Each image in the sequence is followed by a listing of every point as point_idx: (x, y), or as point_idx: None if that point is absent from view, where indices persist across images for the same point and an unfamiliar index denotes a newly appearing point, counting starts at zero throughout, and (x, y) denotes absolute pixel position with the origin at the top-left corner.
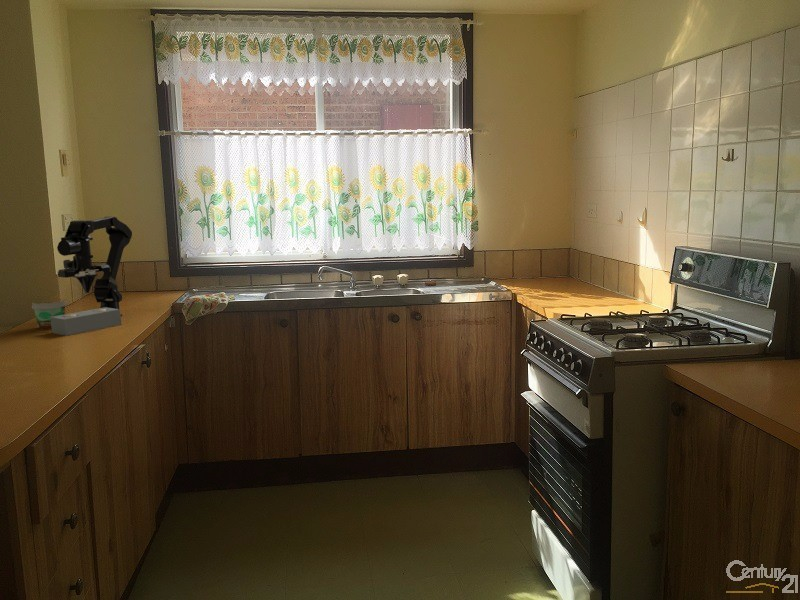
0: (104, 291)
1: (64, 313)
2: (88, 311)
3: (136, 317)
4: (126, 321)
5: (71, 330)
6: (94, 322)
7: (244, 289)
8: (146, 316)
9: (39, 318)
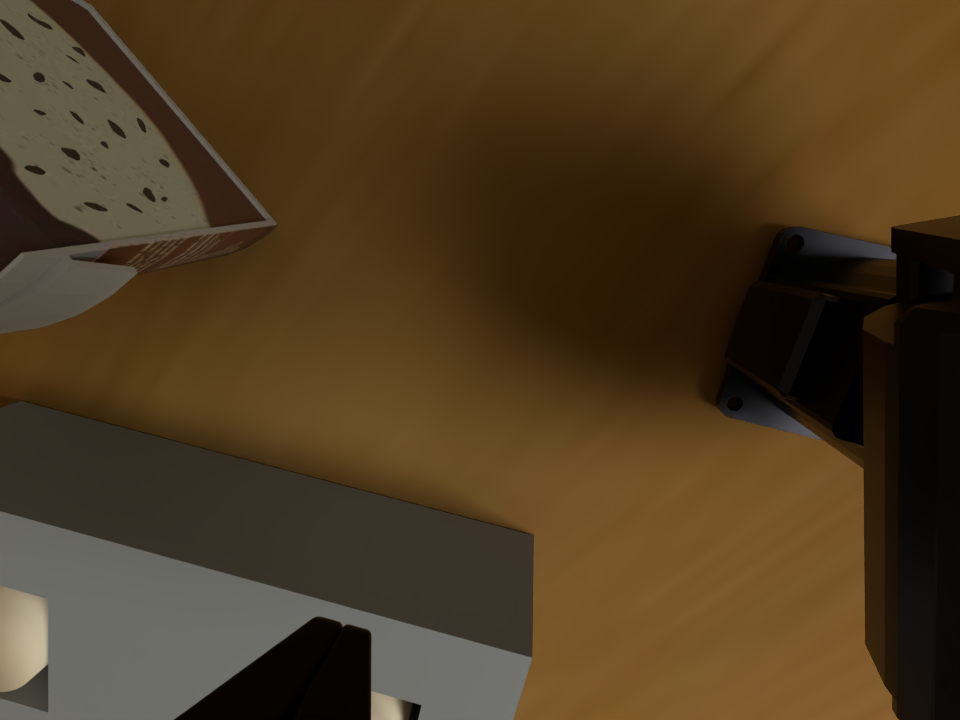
0: (933, 663)
1: (176, 256)
2: (234, 652)
3: (820, 649)
4: (614, 680)
5: None
6: None
7: None
8: (885, 710)
9: None
